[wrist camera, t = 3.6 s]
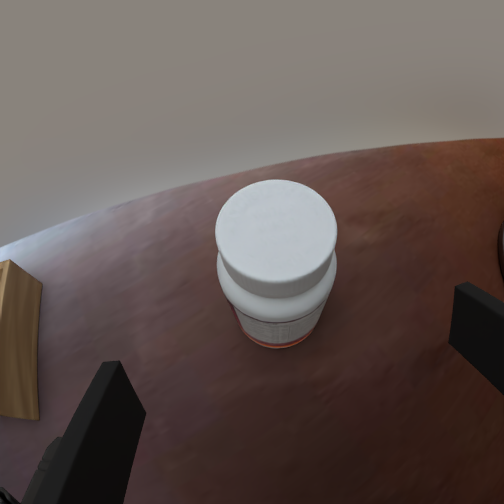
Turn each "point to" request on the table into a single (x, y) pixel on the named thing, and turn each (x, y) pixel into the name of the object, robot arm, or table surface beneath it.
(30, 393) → the holder
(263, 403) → the table surface
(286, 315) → the pill bottle
